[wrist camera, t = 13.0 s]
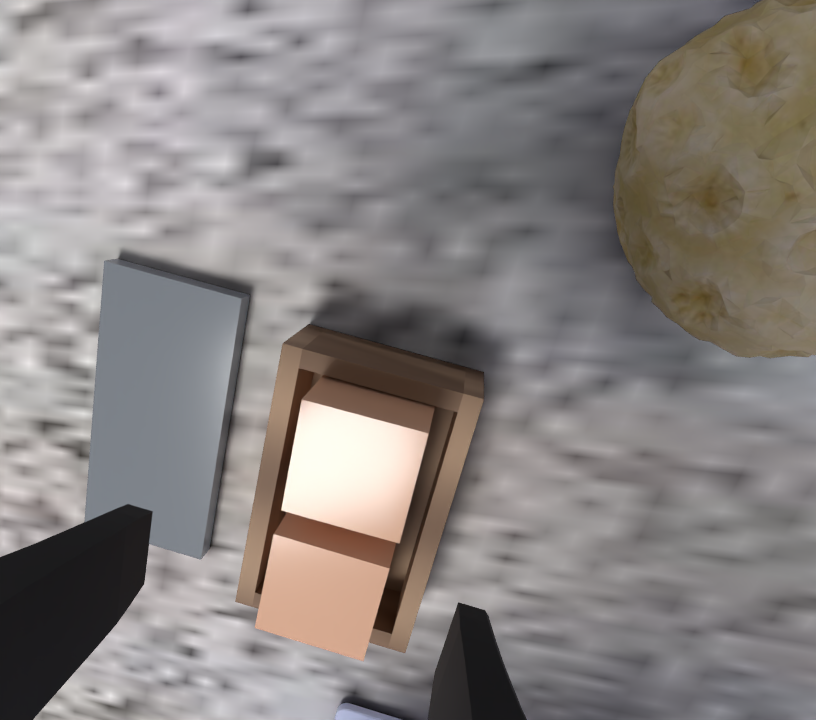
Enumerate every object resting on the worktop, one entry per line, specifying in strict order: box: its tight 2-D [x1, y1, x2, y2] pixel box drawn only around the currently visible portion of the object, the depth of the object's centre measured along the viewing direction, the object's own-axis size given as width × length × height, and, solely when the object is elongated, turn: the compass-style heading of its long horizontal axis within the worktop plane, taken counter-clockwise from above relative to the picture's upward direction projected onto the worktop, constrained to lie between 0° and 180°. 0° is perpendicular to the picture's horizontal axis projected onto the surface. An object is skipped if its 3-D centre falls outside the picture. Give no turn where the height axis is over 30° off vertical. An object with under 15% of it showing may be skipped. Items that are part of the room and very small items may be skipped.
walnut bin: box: [235, 324, 484, 653], centre depth 22 cm, size 11×7×3 cm, turn 166°
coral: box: [613, 0, 816, 358], centre depth 15 cm, size 9×9×8 cm
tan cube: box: [281, 375, 435, 544], centre depth 20 cm, size 4×4×4 cm
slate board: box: [85, 259, 250, 559], centre depth 23 cm, size 12×6×1 cm, turn 166°
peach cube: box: [255, 512, 396, 661], centre depth 21 cm, size 4×4×4 cm
